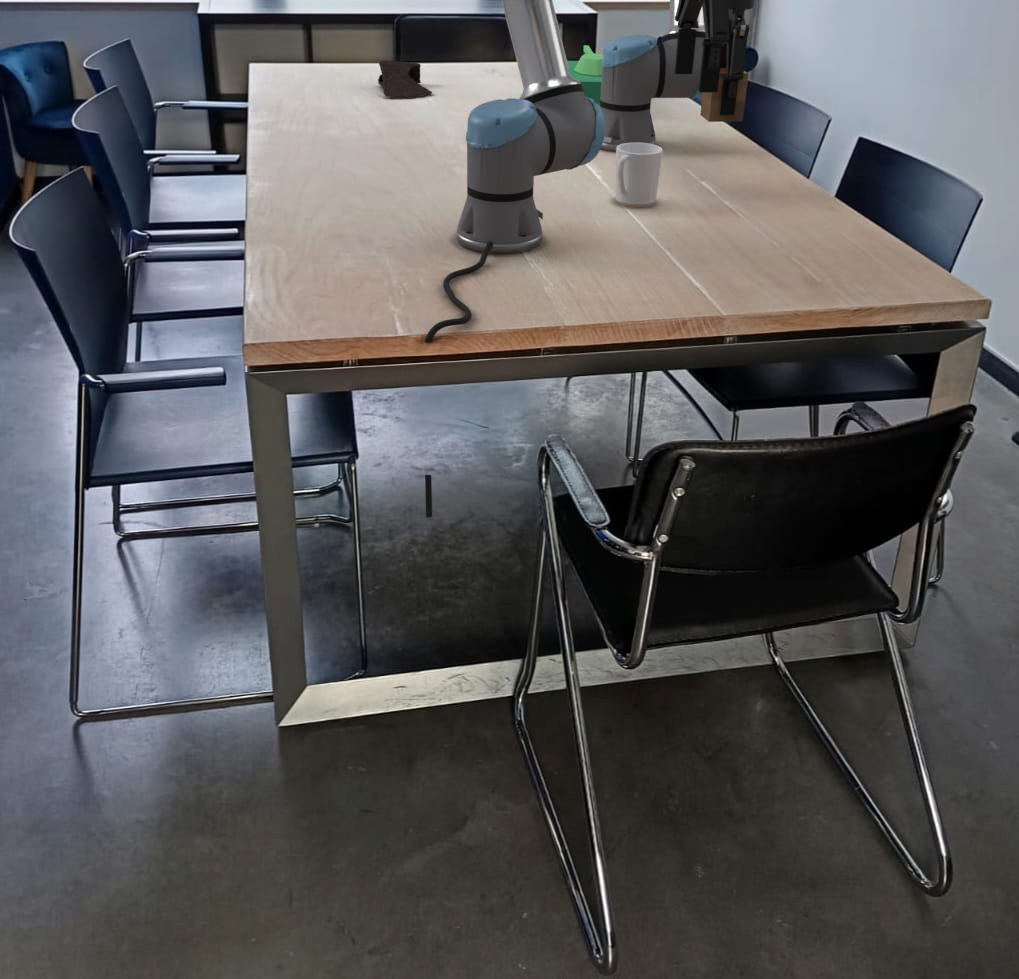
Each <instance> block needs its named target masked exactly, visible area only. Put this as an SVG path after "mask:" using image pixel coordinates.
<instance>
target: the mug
mask: <svg viewBox="0 0 1019 979" xmlns="http://www.w3.org/2000/svg"><path fill="white" fill-rule="evenodd" d="M663 152H664V151H663V148H662V147H661V146H659V145H657V144H655V145H653V144H648V143H624V144H620V145H618V146H617V148H616V151H615V153H616V154H615V188H614V189H615V191H614V192H615V194H614V199H615V202H616V203H617V204H619V205H621V206H626V207H630V208H631V207H632V208H645V207H651V206H653V205H654V204H655V203H656V202H657V195H658V188H659V180H660V173H661V166H662V158H663Z"/></svg>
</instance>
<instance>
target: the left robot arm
mask: <svg viewBox="0 0 1019 979" xmlns="http://www.w3.org/2000/svg"><path fill="white" fill-rule="evenodd" d="M501 4H502V8H503V12H504V16H505V20H506V24H507V28H508V32H509V36H510V41H511V44H512V47H513V52H514V56H515V60H516V63H517V68H518V71H519V72H518V73H519V76H520V80H521V83H522V87H523V88H522V89H523V90H522V93H521V95H520V97H519V98H505V99H502V98H501V99H494V100H490V101H486V102H483V103H481V104H479V105H477V106H476V107H474V108H473V109H472V110H471V111H470V113H469V114H468V117H467V126H466V127H467V129H466V134H465V141H466V192H467V193H466V198H465V202H464V205H463V209H462V211H461V214H460V218H459V220H458V224H457V227H456V241H457V243H458V244H459V245H461V246H462V247H464V248H466V249H468V250H470V251H475V252H479V253H481V255H480V259H479V261H477V263H476V264H473V265H471V266H469V267H465V268H461V269H457V270H455V271H452V272H450V273H448V275H446V276H445V278H444V279H443V282H442V284H443V285H442V286H443V290H444V291H445V293H446V295H447V297H448V298H449V300H450V302H451V303H452V304H453V305H454V306H456V307H457V308H458V309H460V310H461V311H462V312H463V313H464V316H462V317H456V318H449V319H444V320H440V321H438V322H437V323H436V324H434V325H433V326H432V327H431V328H430V329H429V330H428V332H427V334H426V336H425V338H424V343H426V344H428V343H429V344H430V343H432V341H433V339H434V337H435V336H436V334H437V333H438V332H439V331H440V330H442V329H444V328H447V327H451V326H459V325H465V324H467V323H468V322H469V321H470V320H471V319H472V311H471V309H470V308H469V307H468V306H467V305H466V304H465V303H464V302H462V301H461V300H460V299H458V298H457V296H456V294H455V293H454V291H453V289H452V288H451V285H450V283H451V281H453V280H454V279H456V278H459V277H462V276H466V275H469V274H472V273H474V272H477V271H479V270H481V269H482V268H483V266H484V265H485V264H486V262H487V259H488V256H489V254H497V255H499V254H500V255H506V254H507V255H508V254H517V253H524V252H527V251H530V250H533V249H536V248H538V247H539V246H540V245H541V244H542V243H543V229H542V224H541V221H540V220H543V219H544V213H543V212H542V211H540V210H539V209H537V206H536V204H535V199H534V184H535V181H534V180H535V177H537V176H543V175H546V174H551V173H556V172H559V171H560V172H561V171H565V170H568V171H569V170H573V169H576V168H578V167H580V166H584V165H587V164H589V163H590V162H592V161H593V160H594V159H595V158H596V157H597V156H598V155H599V153H600V151H601V149H600V147H601V146H602V144H603V141H604V136H605V120H604V116H603V112H602V110H601V108H600V106H599V105H598V104H596V103H595V101H594V100H593V99H591V98H588V97H586V96H584V92H583V88H582V84H581V82H579V81H578V80H576V79H574V78H573V77H572V76H571V75H570V71H569V67H568V63H567V61H568V60H567V55H566V50H565V47H564V42H563V38H562V35H561V34H562V33H561V30H560V27H559V21H558V17H557V14H556V10H555V6H554V1H553V0H501ZM701 8H703V17H704V27H705V36H706V39H703V41H702V43H701V45H702V46H703V53H702V62H701V72H700V81H699V92H718V84H719V75H720V66H721V57H722V49H723V46H724V44H725V43H728V42H729V39H730V37H729V0H679V2H678V7H677V11H676V16H675V21H676V22H678V28H680V29H679V30H678V41H677V51H676V62H675V74H692V71H693V61H694V52H695V42H696V32H697V30H696V29H691V28H699V27H698V26H699V24H698V21H697V19H698V16H699V13H700V11H701ZM424 485H425V488H424V490H425V517H426V518H432V517H433V486H432V474H424Z"/></svg>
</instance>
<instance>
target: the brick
mask: <svg viewBox="0 0 1019 979" xmlns="http://www.w3.org/2000/svg"><path fill="white" fill-rule="evenodd" d="M735 73H736V72H735ZM724 77H726V68H720V75H719V84H718V92H703V95H702V98H701V106H700V116H701V117H702V118H703V119H705V121H707V122H709V123H711V122H712V123H718V122H719V123H721V122H723V123H725V122H731V123H732V122H743V120H744V112H745V105H746V97H747V96H746V95H747V90H748V81H749V73H748V72H747V71H746V70H744V76H743V79H740V80H739V81H738V88H737V96H736V104H735V112H734V115H720V109H721V101H722V92H723V83H724V81H723V80H722V78H724Z"/></svg>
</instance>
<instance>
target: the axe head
mask: <svg viewBox="0 0 1019 979" xmlns="http://www.w3.org/2000/svg"><path fill="white" fill-rule="evenodd" d="M378 66H379V68H380V72H381V74H379V75H378V79H377V84H378V85H379V86H380V87H381V88H382V89H383V95H384V96H385V97H388V98H394V99H395V98H396V99H403V98H405V99H406V98H407V99H411V98H418V97H425V96H429V95H432V94H433V91H431V90H430V89H428V88H427V87H425V86H422V85H421V84H422V82H421V63H419V62H410V61H408V62H407V61H397V60H388V59H387V60H380V61H379V62H378Z"/></svg>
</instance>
